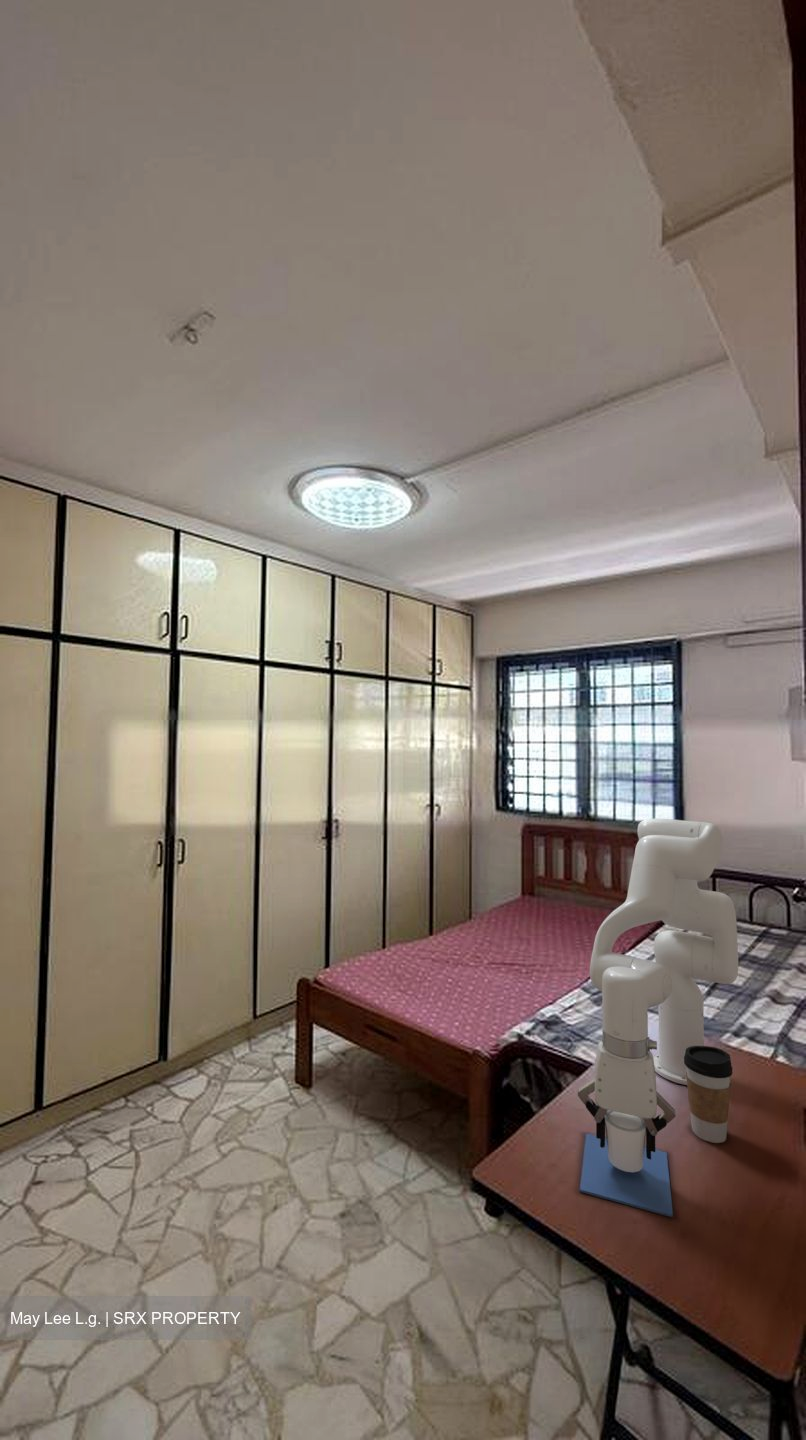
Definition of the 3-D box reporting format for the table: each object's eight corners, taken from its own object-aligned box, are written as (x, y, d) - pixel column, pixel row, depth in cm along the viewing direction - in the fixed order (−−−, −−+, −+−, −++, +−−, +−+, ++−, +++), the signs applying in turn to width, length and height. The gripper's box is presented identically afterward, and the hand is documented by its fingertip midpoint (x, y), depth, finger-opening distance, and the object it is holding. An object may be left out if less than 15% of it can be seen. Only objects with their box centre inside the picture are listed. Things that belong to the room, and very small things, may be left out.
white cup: (598, 1148, 104) (598, 1107, 105) (635, 1147, 105) (634, 1106, 105) (615, 1175, 97) (615, 1132, 98) (654, 1174, 98) (654, 1130, 98)
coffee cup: (740, 1150, 107) (739, 1066, 108) (691, 1143, 109) (690, 1060, 110) (725, 1123, 116) (723, 1045, 117) (679, 1117, 117) (678, 1040, 118)
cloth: (586, 1134, 111) (586, 1132, 111) (666, 1154, 106) (666, 1152, 106) (579, 1191, 96) (579, 1189, 96) (673, 1217, 91) (672, 1215, 91)
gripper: (677, 1042, 103) (678, 1148, 102) (575, 1024, 109) (575, 1124, 108) (681, 1062, 96) (682, 1176, 95) (571, 1042, 102) (571, 1148, 101)
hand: (625, 1147), depth 101 cm, fingers closed on white cup, 6 cm apart
